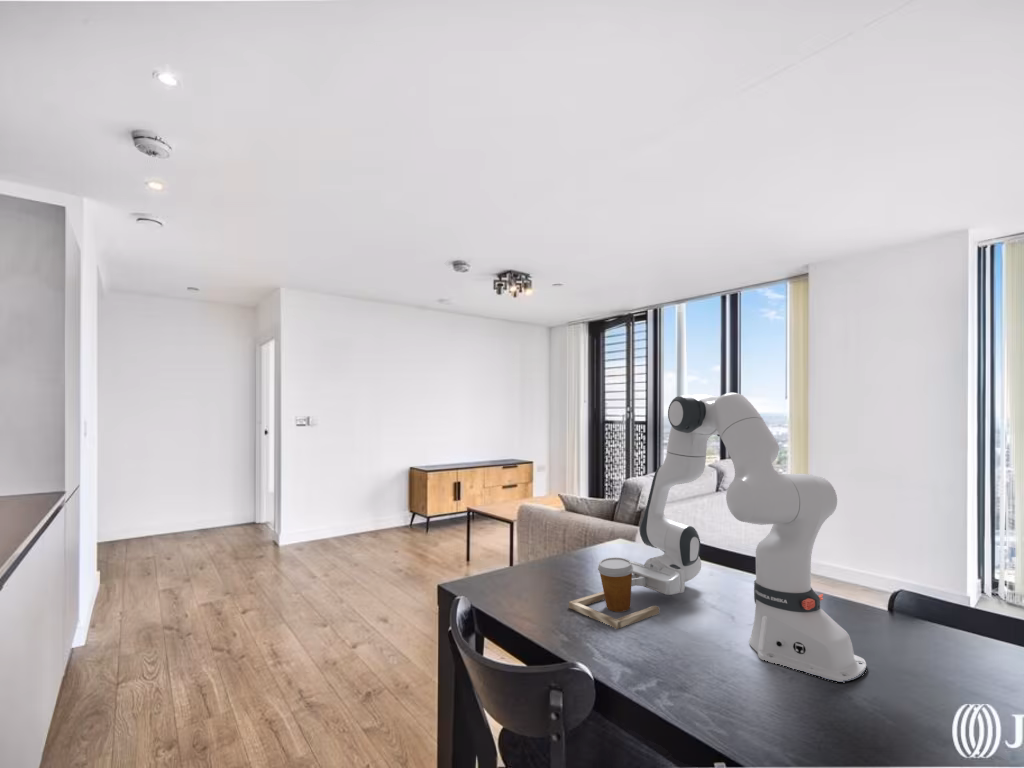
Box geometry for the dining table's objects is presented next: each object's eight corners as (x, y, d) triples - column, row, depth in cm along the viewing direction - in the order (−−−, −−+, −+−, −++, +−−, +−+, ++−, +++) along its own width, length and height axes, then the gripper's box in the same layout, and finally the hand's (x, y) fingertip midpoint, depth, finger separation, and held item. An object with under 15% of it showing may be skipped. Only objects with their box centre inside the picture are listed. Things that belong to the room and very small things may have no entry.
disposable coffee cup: (639, 613, 136) (636, 568, 136) (602, 615, 137) (599, 570, 137) (633, 598, 146) (629, 555, 146) (598, 600, 146) (595, 557, 146)
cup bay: (659, 613, 138) (659, 607, 138) (616, 629, 128) (616, 622, 128) (610, 594, 151) (610, 589, 152) (568, 607, 142) (568, 601, 142)
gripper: (631, 553, 160) (599, 561, 152) (689, 570, 144) (656, 580, 136) (631, 574, 160) (599, 583, 152) (689, 594, 144) (656, 605, 135)
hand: (626, 582), depth 144 cm, fingers closed, pressing on disposable coffee cup
